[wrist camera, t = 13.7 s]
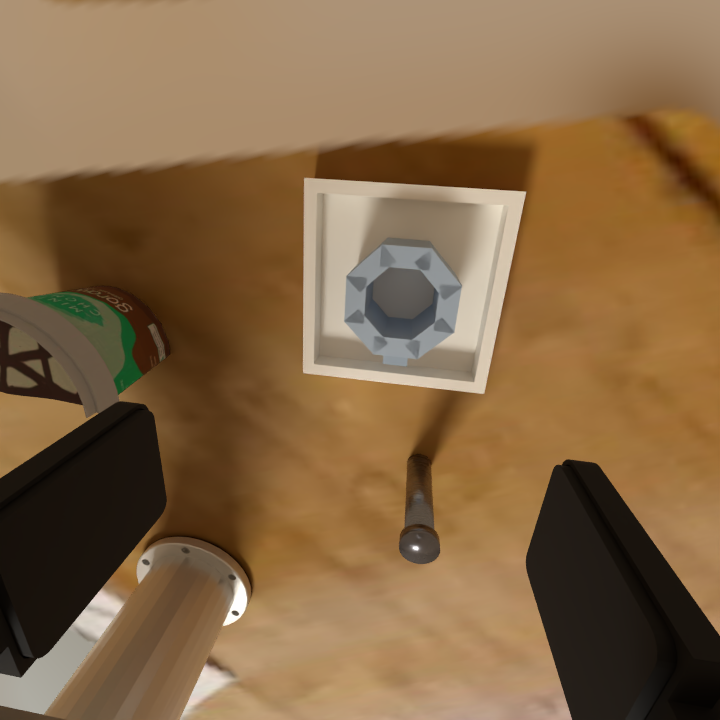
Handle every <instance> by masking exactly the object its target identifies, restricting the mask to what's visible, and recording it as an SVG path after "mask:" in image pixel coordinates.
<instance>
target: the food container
mask: <svg viewBox="0 0 720 720" xmlns="http://www.w3.org/2000/svg"><path fill="white" fill-rule="evenodd" d="M169 355H170V349H169V343H168V339H167V337H166V335H165V332H164V330H163V327H162V325H161V323H160V322H159V320H158V319H157V318H156V316H155V315H154V314H153V312H152V311H151V310H150V308H149V307H147V306H146V305H145V304H144V303H143V302H141V301H140V300H139V299H138V298H136V297H135V296H134V295H132V294H130V293H128V292H126V291H124V290H121V289H119V288H115V287H111V286H95V287H89V288H82V289H76V290H70V291H64V292H58V293H52V294H46V295H40V296H33V297H27V298H26V297H22V296H18V295H14V294H9V293H0V392H4V393H7V394H14V395H21V396H30V397H40V398H48V399H55V400H60V401H65V402H70V403H75V404H79V405H83V407H84V411H85V415H86V418H88V417H89V416H91V415H93V414H94V413H96V412H97V413H101V412H102V411H104V410H105V409H107V408H108V407H110V406H111V405H113V404H114V403H116V402H119V397H118V395H119V394H120V393H121V392H123V391H124V390H125V389H126V388H128V387H129V386H130V385H132V384H133V383H134V382H135V381H137V380H138V379H139V378H141V377H142V376H143V375H144V374H146V373H147V372H148V371H150V370H151V369H152V368H153V367H155V366H156V365H157V364H158V363H160V362H161V361H162V360H164V359H165V358H166V357H167V356H169Z"/></svg>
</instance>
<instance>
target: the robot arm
mask: <svg viewBox="0 0 720 720" xmlns="http://www.w3.org/2000/svg"><path fill="white" fill-rule="evenodd" d="M166 502H167V499H166V492H165V485H164V478H163V472H162V465H161V459H160V452H159V445H158V439H157V432H156V426H155V419H154V415H153V413H152V412H150V411H149V410H148V408H147V406H146V405H144V404H138V403H130V402H123V401H120V402H116V403H114V404H113V405H111V406H110V407H108V408H107V409H105V410H104V411H102V412H101V413H99V414H98V415H96V416H95V417H93V418H91V419H90V420H88V421H87V422H85V423H84V424H82V425H81V426H79V427H78V428H76V429H75V430H73V431H72V432H70V433H69V434H67V435H66V436H64V437H63V438H61V439H59V440H58V441H56V442H55V443H53V444H52V445H50V446H49V447H47V448H46V449H44V450H43V451H41V452H40V453H38V454H37V455H35V456H34V457H32V458H31V459H29V460H28V461H26V462H24V463H23V464H21V465H20V466H18V467H17V468H15V469H14V470H12V471H11V472H9V473H8V474H6V475H5V476H3V477H2V478H0V673H2V674H6V675H11V676H16V677H22V676H23V675H24V673H25V672H26V671H27V670H28V668H29V667H30V666H31V665H32V664H33V663H34V661H35V660H36V659H37V658H41V657H43V656H44V655H46V654H47V653H48V652H49V651H50V650H51V649H52V648H53V647H54V645H55V644H56V643H57V642H58V641H59V639H60V638H61V637H62V636H63V634H64V633H65V632H66V631H67V630H68V628H69V627H70V626H71V625H72V624H73V622H74V621H75V620H76V619H77V617H78V616H79V615H80V614H81V613H82V611H83V610H84V609H85V608H86V606H87V605H88V604H89V603H90V602H91V600H92V599H93V598H94V597H95V595H96V594H97V593H98V592H99V591H100V589H101V588H102V587H103V586H104V584H105V583H106V582H107V581H108V580H109V578H110V577H111V576H112V575H113V574H114V572H115V571H116V570H117V569H118V567H119V566H120V565H121V564H122V563H123V561H124V560H125V559H126V558H127V556H128V555H129V554H130V553H131V552H132V550H133V549H134V548H135V547H136V545H137V544H138V543H139V542H140V541H141V539H142V538H143V537H144V536H145V534H146V533H147V532H148V531H149V530H150V528H151V527H152V526H153V525H154V524H155V522H156V521H157V520H158V519H159V517H160V516H161V515H162V513H163V512H164V509H165V507H166ZM526 569H527V574H528V577H529V580H530V584H531V587H532V590H533V593H534V597H535V600H536V603H537V606H538V610H539V613H540V616H541V619H542V623H543V626H544V629H545V632H546V636H547V639H548V642H549V645H550V649H551V652H552V655H553V658H554V662H555V665H556V668H557V671H558V675H559V678H560V681H561V684H562V688H563V691H564V694H565V698H566V701H567V704H568V707H569V711H570V714H571V717H572V720H720V636H719V634H718V633H717V631H716V630H715V629H714V627H713V626H712V624H711V623H710V621H709V620H708V619H707V617H706V616H705V614H704V613H703V612H702V610H701V609H700V607H699V606H698V605H697V603H696V602H695V600H694V599H693V598H692V596H691V595H690V593H689V592H688V591H687V589H686V588H685V586H684V585H683V583H682V582H681V581H680V579H679V578H678V576H677V575H676V574H675V572H674V571H673V569H672V568H671V567H670V565H669V564H668V562H667V561H666V560H665V558H664V557H663V555H662V554H661V552H660V551H659V550H658V548H657V547H656V545H655V544H654V543H653V541H652V540H651V538H650V537H649V536H648V534H647V533H646V531H645V530H644V529H643V527H642V526H641V524H640V523H639V522H638V520H637V519H636V517H635V516H634V514H633V513H632V512H631V510H630V509H629V507H628V506H627V505H626V503H625V502H624V500H623V499H622V498H621V496H620V495H619V493H618V492H617V491H616V489H615V488H614V486H613V485H612V483H611V482H610V481H609V479H608V478H607V476H606V475H605V474H604V472H603V471H602V469H601V468H600V467H599V466H598V465H597V464H596V463H592V462H584V461H576V460H565V461H564V462H563V464H562V465H556V466H555V467H554V469H553V472H552V475H551V478H550V481H549V485H548V488H547V491H546V494H545V497H544V501H543V504H542V507H541V510H540V514H539V517H538V520H537V523H536V526H535V530H534V533H533V536H532V539H531V542H530V546H529V549H528V552H527V556H526ZM137 578H138V582H139V585H138V586H137V588H136V589H135V591H134V592H133V593H132V595H131V596H130V597H129V599H128V600H127V601H126V603H125V604H124V606H123V607H122V608H121V610H120V611H119V612H118V614H117V615H116V616H115V618H114V619H113V621H112V622H111V623H110V625H109V626H108V627H107V629H106V630H105V632H104V633H103V634H102V636H101V637H100V638H99V640H98V641H97V642H96V644H95V645H94V647H93V648H92V649H91V651H90V652H89V654H88V655H87V656H86V658H85V659H84V660H83V662H82V663H81V664H80V666H79V667H78V669H77V670H76V671H75V673H74V674H73V675H72V677H71V678H70V679H69V681H68V682H67V684H66V685H65V686H64V688H63V689H62V690H61V692H60V693H59V695H58V696H57V697H56V699H55V700H54V702H53V703H52V704H51V705H50V707H49V708H48V710H47V711H46V712H45V714H44V715H42V714H37V713H32V712H28V711H23V710H18V709H13V708H8V707H4V706H0V720H179V719H180V717H181V715H182V713H183V711H184V709H185V706H186V704H187V702H188V700H189V698H190V696H191V693H192V691H193V689H194V687H195V685H196V683H197V680H198V678H199V676H200V674H201V672H202V669H203V667H204V665H205V663H206V661H207V659H208V656H209V654H210V652H211V650H212V648H213V646H214V643H215V641H216V639H217V637H218V635H219V633H220V630H221V628H222V626H225V625H228V624H231V623H233V622H235V621H236V620H238V619H239V618H240V617H241V616H242V615H243V614H244V612H245V611H246V608H247V606H248V604H249V601H250V597H251V586H250V583H249V580H248V577H247V576H246V574H245V572H244V570H243V569H242V568H241V566H240V565H239V564H238V563H237V562H236V561H235V560H234V559H233V558H232V557H231V556H230V555H229V554H227V553H226V552H224V551H223V550H221V549H220V548H218V547H216V546H214V545H212V544H210V543H207V542H204V541H202V540H199V539H194V538H189V537H169V538H164V539H161V540H158V541H156V542H154V543H153V544H151V545H150V546H149V547H148V548H147V549H146V550H145V552H144V553H143V554H142V556H141V557H140V558H139V561H138V564H137Z"/></svg>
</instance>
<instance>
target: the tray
mask: <svg viewBox="0 0 720 720" xmlns="http://www.w3.org/2000/svg"><path fill="white" fill-rule="evenodd" d="M525 195H526V192H524V191H508V190H492V189H476V188H460V187H444V186H428V185H412V184H396V183H380V182H364V181H348V180H332V179H316V178H304V288H303V373H308V374H316V375H325V376H334V377H342V378H351V379H359V380H368V381H377V382H385V383H394V384H403V385H411V386H420V387H429V388H437V389H446V390H454V391H463V392H472V393H480V394H484V392H485V387H486V382H487V377H488V373H489V368H490V363H491V358H492V353H493V349H494V344H495V339H496V334H497V329H498V325H499V320H500V315H501V310H502V305H503V301H504V296H505V291H506V286H507V281H508V277H509V272H510V267H511V262H512V257H513V253H514V248H515V243H516V238H517V233H518V229H519V224H520V219H521V214H522V209H523V205H524V200H525ZM388 237H389V238H400V239H413V240H426V241H430V242H431V243H432V245H433V246H434V247H435V248H436V250H437V251H438V252H439V254H440V255H441V256H442V257H443V259H444V260H445V261H446V262H447V264H448V265H449V266H450V268H451V269H452V270H453V271H454V273H455V274H456V276H457V278H458V279H459V281H460V283H461V285H462V289H461V295H460V301H459V307H458V313H457V319H456V325H455V332H454V333H453V334H452V335H450V336H449V337H447V338H446V339H445V340H443V341H442V342H441V343H439V344H438V345H436V346H435V347H434V348H432V349H431V350H430V351H428V352H427V353H425V354H424V355H423V356H421V357H420V358H418V359H411V358H408V361H407V367H406V366H397V365H388V364H383V355H374V354H373V353H372V352H371V351H370V350H369V349H368V348H367V347H366V345H365V344H364V343H363V342H362V341H361V340H360V339H359V338H358V336H357V335H356V334H355V333H354V332H353V331H352V330H351V329H350V327H349V326H348V325H347V324H346V323H345V322H344V316H345V295H346V276H347V275H348V274H349V273H350V272H351V271H352V269H353V268H354V267H355V266H356V265H357V264H359V263H360V262H361V261H362V260H363V259H365V258H366V257H367V256H368V255H369V254H370V253H371V252H372V251H373V250H375V249H376V248H377V247H378V246H379V245H380V244H381V243H382V242H384V241H385V240H386V239H387V238H388ZM433 295H434V286H433V285H432V284H431V283H430V281H429V280H428V279H427V278H426V276H425V275H424V274H423V273H422V272H421V270H417V269H406V268H394V267H389V268H388V269H386V270H385V271H384V272H383V273H382V274H381V275H379V276H378V277H377V278H376V279H375V280H374V283H373V297H372V299H373V300H374V301H375V302H376V303H377V304H378V306H379V307H380V308H381V309H382V310H383V311H384V313H385V314H386V315H387V316H388V317H395V318H405V319H414V318H415V317H416V316H417V315H419V314H420V313H421V312H423V311H424V310H425V309H426V308H428V307H429V306H430V305H432V303H433Z"/></svg>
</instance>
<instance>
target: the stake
mask: <svg viewBox="0 0 720 720" xmlns="http://www.w3.org/2000/svg"><path fill="white" fill-rule="evenodd" d="M399 550H400V553H401V554H402V556H403V557H404V558H405V559H407V560H408V561H410V562H413V563H417V564H426V563H430V562H432V561H434V560H435V559H436V558H437V557H438V556H439V553H440V542H439V536H438V534H437V532H436V531H435V530H434V516H433V496H432V476H431V462H430V460H429V459H428V458H427V457H426V456H424V455H420V454H417V455H413V456H411V457H410V458H409V459H408V462H407V481H406V506H405V528H404V529H403V530H402V532H401V534H400V541H399Z"/></svg>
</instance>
